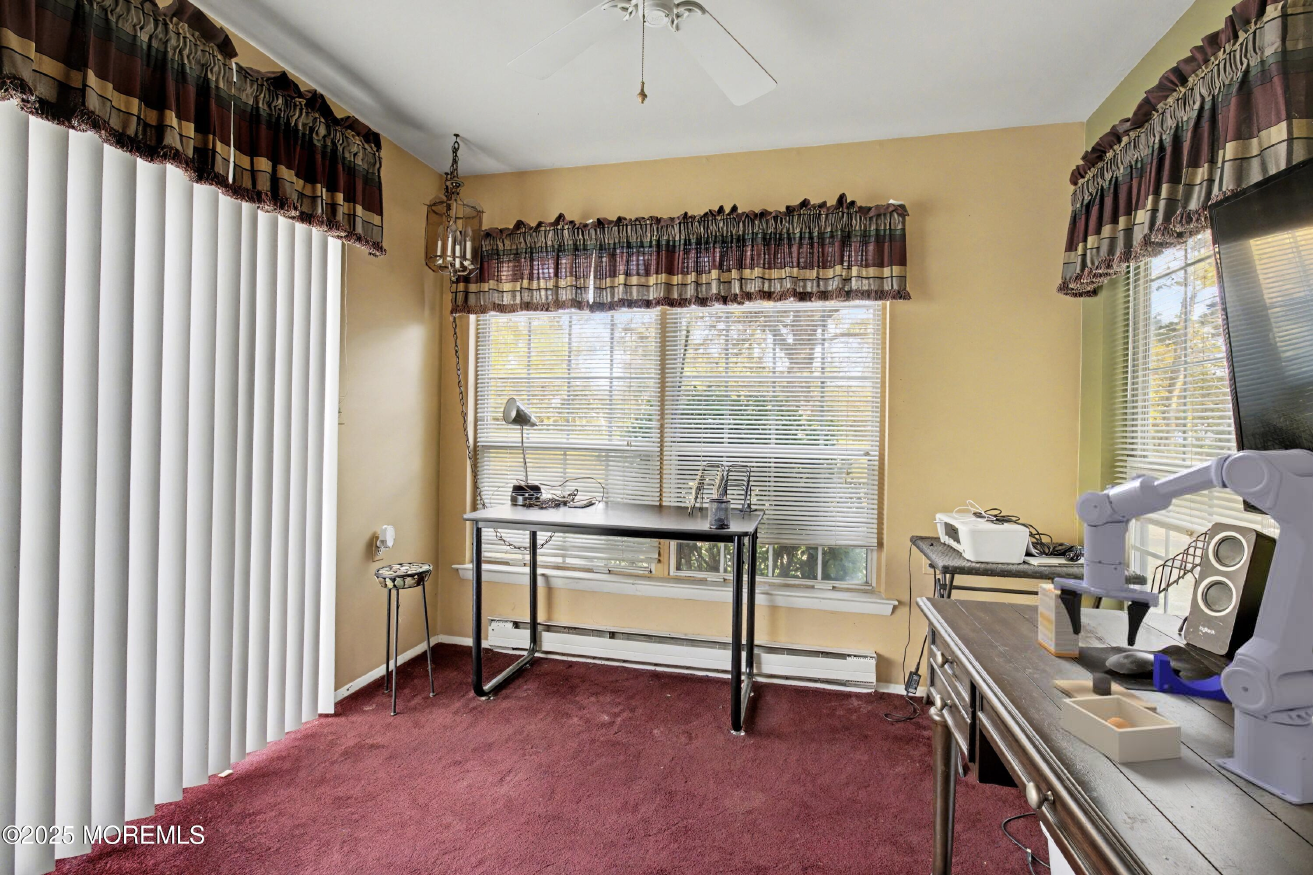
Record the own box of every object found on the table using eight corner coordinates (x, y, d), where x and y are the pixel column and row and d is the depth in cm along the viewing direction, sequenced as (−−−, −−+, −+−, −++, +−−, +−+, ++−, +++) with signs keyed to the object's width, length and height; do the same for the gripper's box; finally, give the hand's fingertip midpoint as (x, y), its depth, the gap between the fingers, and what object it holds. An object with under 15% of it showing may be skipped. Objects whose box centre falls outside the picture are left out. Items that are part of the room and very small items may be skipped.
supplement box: (1080, 658, 122) (1081, 594, 122) (1054, 656, 123) (1054, 593, 123) (1061, 643, 130) (1062, 583, 130) (1037, 642, 131) (1037, 582, 131)
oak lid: (1156, 715, 99) (1156, 689, 99) (1092, 715, 99) (1092, 689, 99) (1110, 687, 109) (1110, 663, 109) (1052, 687, 109) (1052, 663, 109)
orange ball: (1136, 742, 89) (1136, 722, 89) (1118, 744, 88) (1118, 724, 88) (1118, 732, 92) (1118, 713, 92) (1100, 734, 91) (1100, 714, 91)
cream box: (1180, 757, 86) (1181, 726, 86) (1118, 763, 84) (1118, 731, 84) (1117, 722, 96) (1118, 694, 96) (1061, 727, 94) (1061, 699, 94)
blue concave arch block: (1235, 694, 106) (1235, 660, 106) (1247, 705, 102) (1248, 670, 102) (1150, 682, 111) (1150, 650, 111) (1159, 692, 107) (1159, 659, 107)
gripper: (1048, 557, 106) (1048, 633, 107) (1154, 572, 96) (1153, 656, 96) (1060, 551, 111) (1059, 624, 111) (1161, 565, 100) (1160, 645, 101)
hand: (1103, 638), depth 104 cm, fingers open, 7 cm apart
